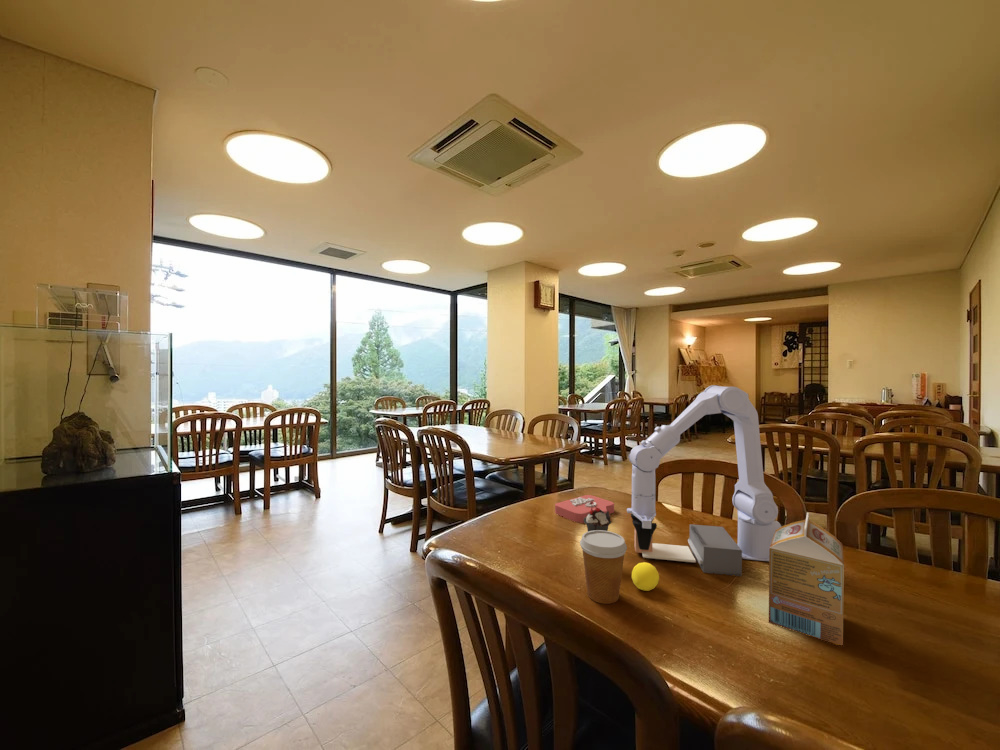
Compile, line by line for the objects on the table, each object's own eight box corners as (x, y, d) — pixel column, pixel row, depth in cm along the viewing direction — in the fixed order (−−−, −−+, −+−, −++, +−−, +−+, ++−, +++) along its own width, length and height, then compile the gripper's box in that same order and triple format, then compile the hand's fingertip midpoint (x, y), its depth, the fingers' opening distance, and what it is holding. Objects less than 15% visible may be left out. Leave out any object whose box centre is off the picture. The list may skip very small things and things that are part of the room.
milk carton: (774, 597, 84) (775, 506, 83) (841, 617, 77) (842, 518, 77) (768, 622, 75) (769, 521, 75) (842, 647, 69) (844, 536, 68)
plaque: (587, 515, 121) (552, 502, 133) (587, 528, 121) (552, 514, 133) (624, 503, 132) (588, 492, 144) (624, 515, 132) (588, 503, 144)
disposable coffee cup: (621, 584, 89) (621, 530, 89) (631, 610, 79) (631, 549, 79) (577, 582, 90) (577, 528, 90) (582, 607, 80) (582, 547, 80)
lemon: (649, 601, 83) (647, 576, 83) (626, 590, 87) (624, 567, 87) (666, 585, 88) (664, 561, 87) (643, 575, 92) (641, 553, 91)
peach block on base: (688, 548, 105) (688, 529, 105) (695, 562, 97) (695, 541, 97) (633, 543, 108) (633, 524, 108) (636, 556, 100) (636, 536, 100)
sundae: (580, 564, 98) (580, 502, 98) (587, 553, 104) (587, 495, 104) (607, 570, 95) (607, 507, 95) (613, 558, 101) (614, 498, 101)
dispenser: (722, 549, 106) (722, 526, 106) (741, 576, 92) (741, 550, 92) (687, 546, 108) (687, 524, 108) (700, 572, 94) (700, 546, 94)
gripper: (624, 484, 111) (624, 533, 112) (629, 501, 97) (629, 557, 97) (652, 486, 110) (651, 535, 110) (660, 503, 96) (660, 560, 96)
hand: (643, 546), depth 104 cm, fingers closed on peach block on base, 3 cm apart
